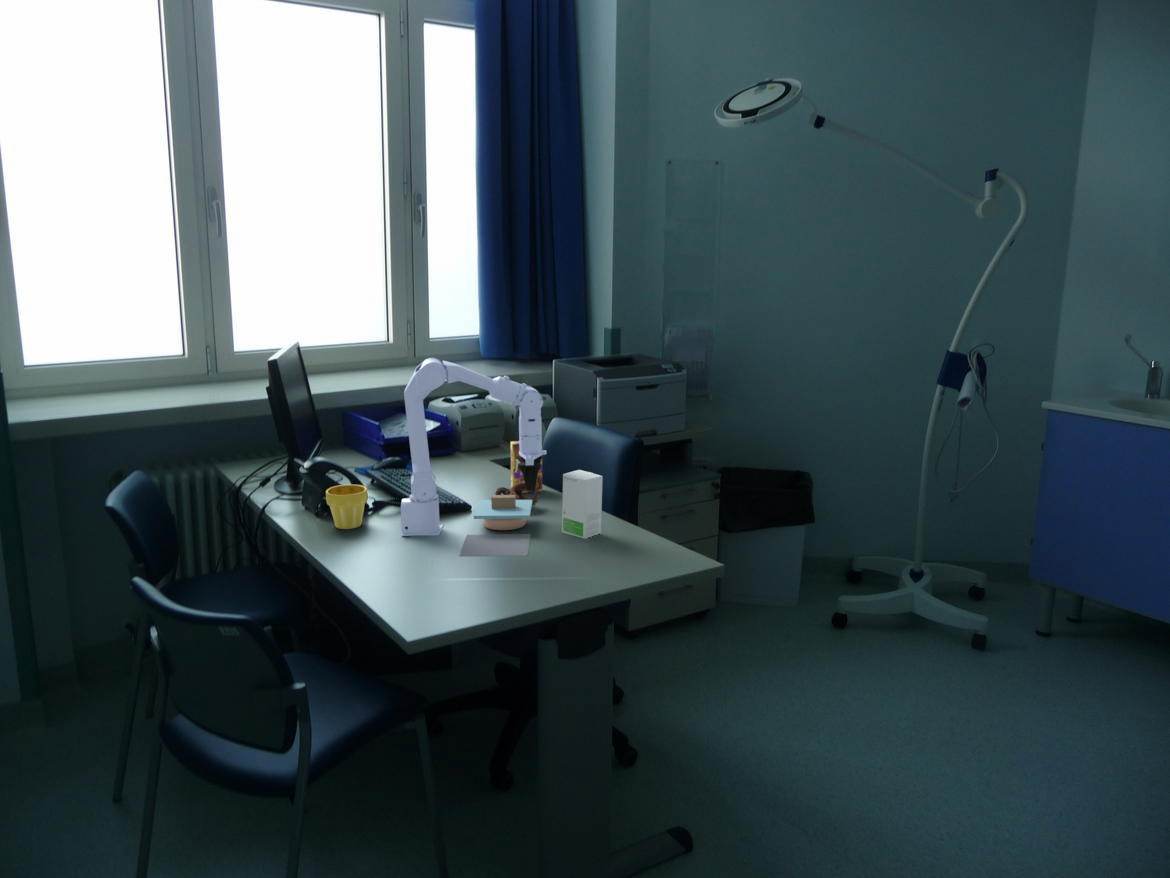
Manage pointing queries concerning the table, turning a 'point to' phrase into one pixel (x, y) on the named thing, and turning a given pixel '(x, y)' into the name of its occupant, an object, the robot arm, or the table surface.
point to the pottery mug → (518, 492)
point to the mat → (496, 545)
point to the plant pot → (347, 505)
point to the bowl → (504, 523)
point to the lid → (503, 508)
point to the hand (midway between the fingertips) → (531, 486)
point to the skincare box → (582, 503)
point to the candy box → (516, 471)
